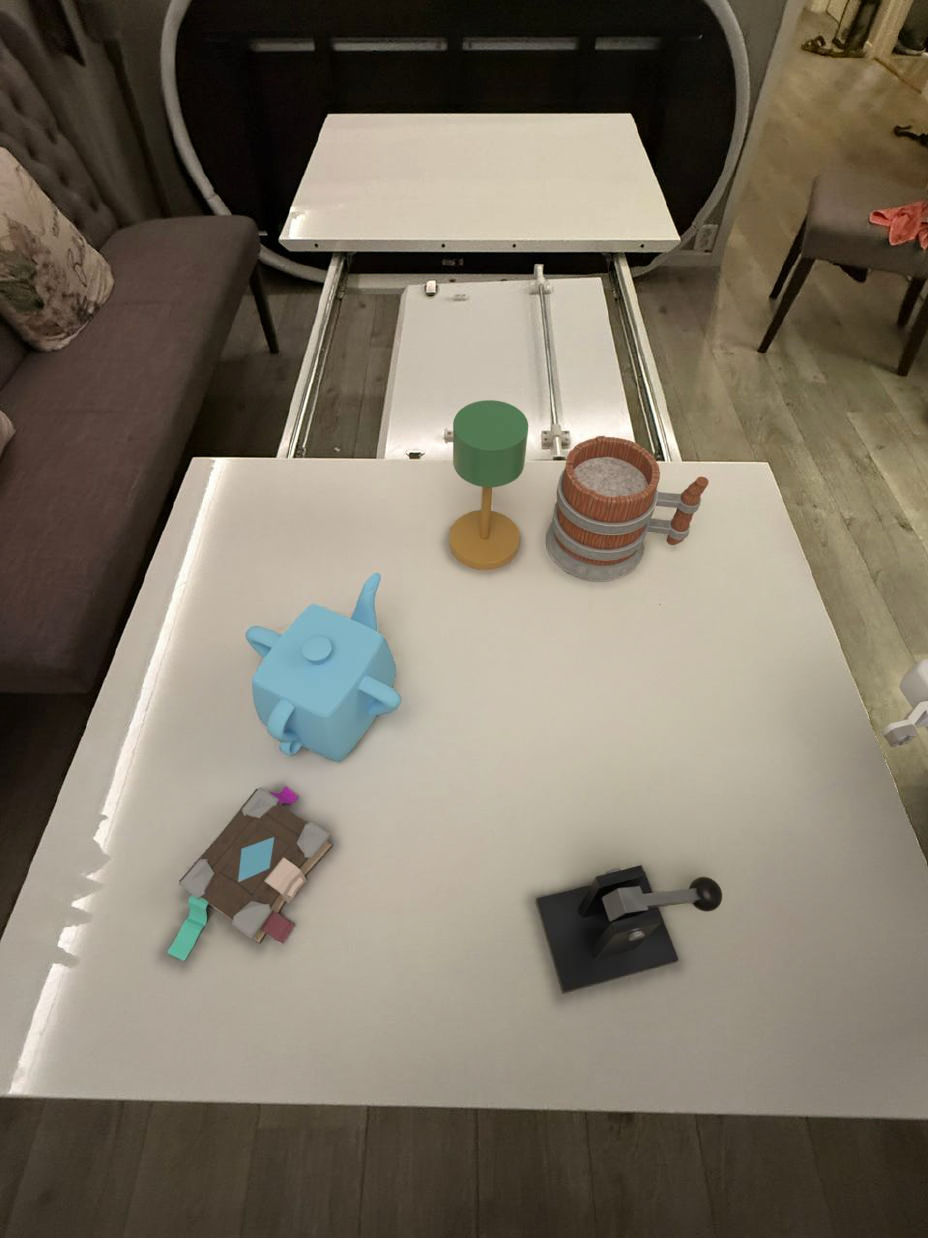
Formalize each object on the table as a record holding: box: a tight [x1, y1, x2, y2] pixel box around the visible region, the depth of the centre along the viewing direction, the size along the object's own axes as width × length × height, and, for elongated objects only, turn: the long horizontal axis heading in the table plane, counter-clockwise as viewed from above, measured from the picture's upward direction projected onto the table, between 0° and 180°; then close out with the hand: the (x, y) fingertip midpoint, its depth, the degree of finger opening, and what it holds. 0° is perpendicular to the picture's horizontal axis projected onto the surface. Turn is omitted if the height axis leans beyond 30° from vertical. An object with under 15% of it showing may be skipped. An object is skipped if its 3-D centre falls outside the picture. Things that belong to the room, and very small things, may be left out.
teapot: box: [245, 572, 402, 763], centre depth 84 cm, size 18×16×14 cm
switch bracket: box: [535, 864, 679, 995], centre depth 70 cm, size 12×9×13 cm
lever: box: [602, 876, 723, 922], centre depth 69 cm, size 14×3×3 cm, turn 104°
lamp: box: [448, 399, 529, 571], centre depth 96 cm, size 10×10×22 cm
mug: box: [545, 435, 710, 582], centre depth 99 cm, size 14×19×15 cm
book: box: [166, 785, 333, 962], centre depth 75 cm, size 20×12×5 cm, turn 148°
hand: (922, 788), depth 58 cm, fingers open, 8 cm apart
